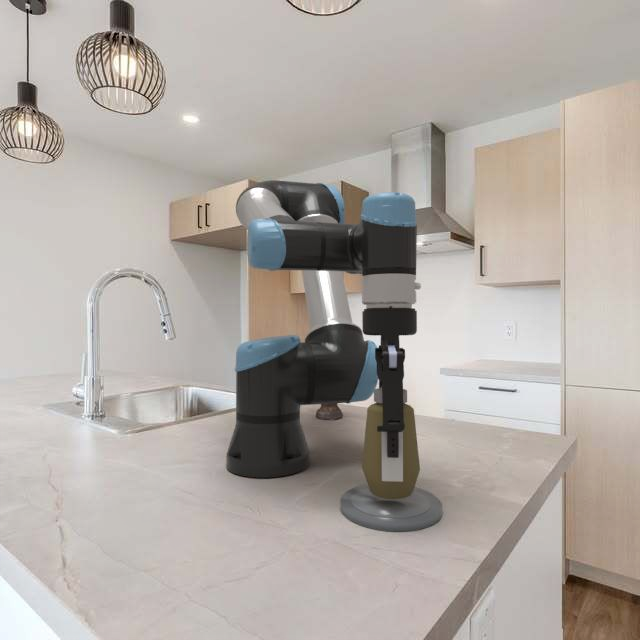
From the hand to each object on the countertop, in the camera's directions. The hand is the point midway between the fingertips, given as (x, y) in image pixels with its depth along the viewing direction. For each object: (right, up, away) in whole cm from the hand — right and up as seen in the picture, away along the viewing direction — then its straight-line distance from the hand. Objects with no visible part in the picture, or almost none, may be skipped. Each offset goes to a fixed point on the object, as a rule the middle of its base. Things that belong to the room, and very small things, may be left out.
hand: (390, 469), depth 64 cm
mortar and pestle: (-9, -6, +61) cm, 62 cm away
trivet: (0, -5, 0) cm, 5 cm away
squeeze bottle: (0, -3, 0) cm, 3 cm away
